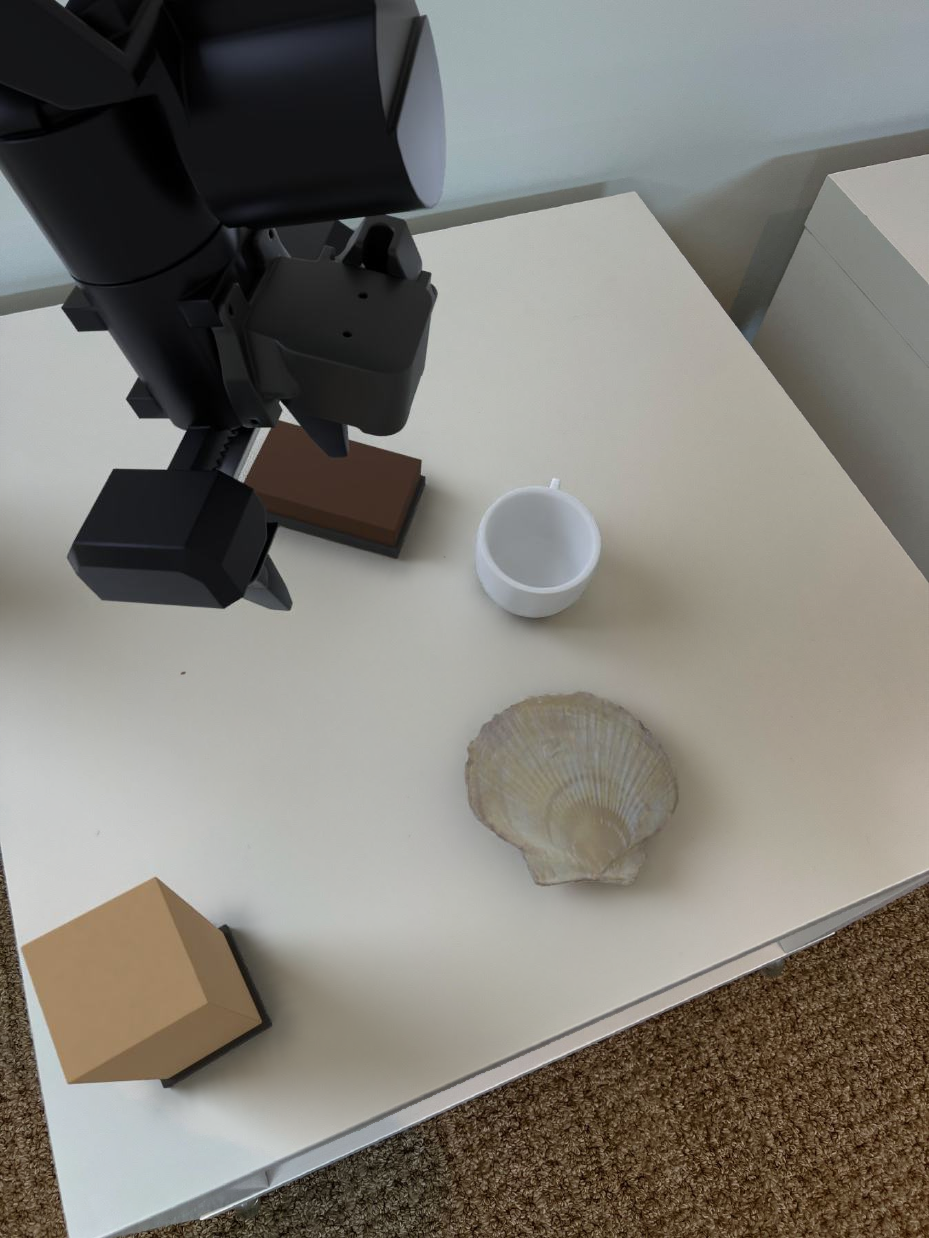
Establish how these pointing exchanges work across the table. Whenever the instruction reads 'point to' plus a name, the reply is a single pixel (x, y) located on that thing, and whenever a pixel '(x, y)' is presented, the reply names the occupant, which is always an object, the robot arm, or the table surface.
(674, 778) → the seashell
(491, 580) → the teacup
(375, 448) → the brown slab
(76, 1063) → the tan block on base
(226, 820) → the table surface
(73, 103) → the robot arm
